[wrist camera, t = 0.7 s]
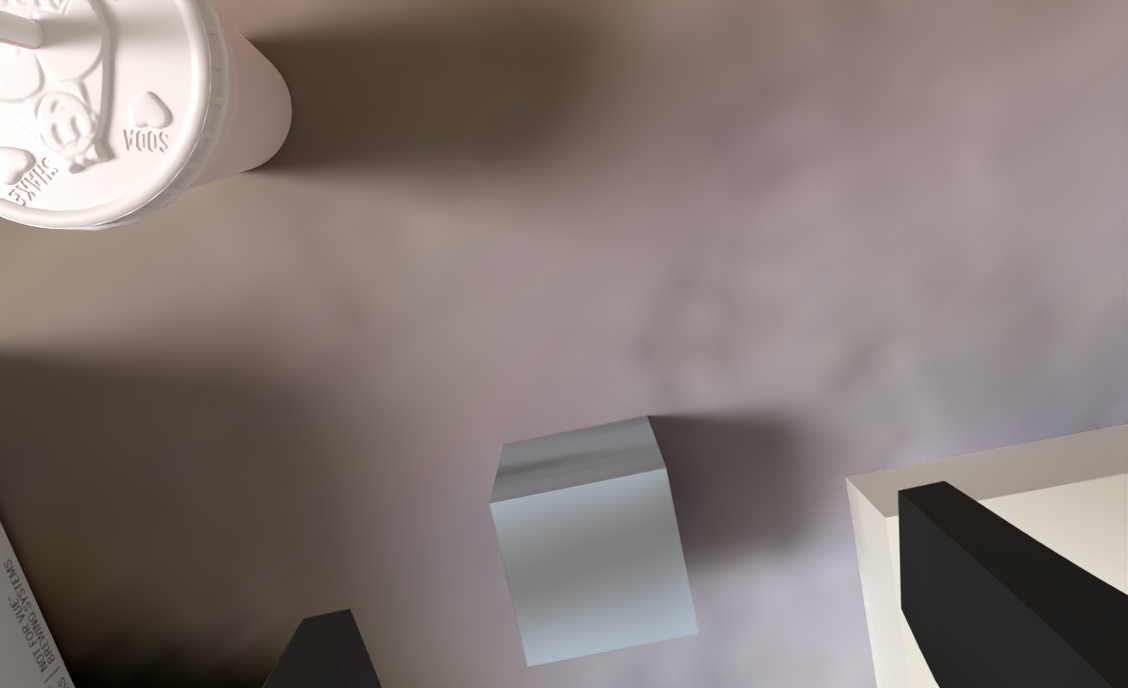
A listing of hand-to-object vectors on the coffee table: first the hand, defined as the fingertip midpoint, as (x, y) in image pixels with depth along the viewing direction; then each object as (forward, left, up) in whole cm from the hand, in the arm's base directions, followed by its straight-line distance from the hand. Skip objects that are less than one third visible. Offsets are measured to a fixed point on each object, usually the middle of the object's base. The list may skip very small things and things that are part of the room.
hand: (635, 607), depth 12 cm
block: (-4, +1, -17) cm, 17 cm away
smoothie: (+10, +9, -17) cm, 21 cm away
